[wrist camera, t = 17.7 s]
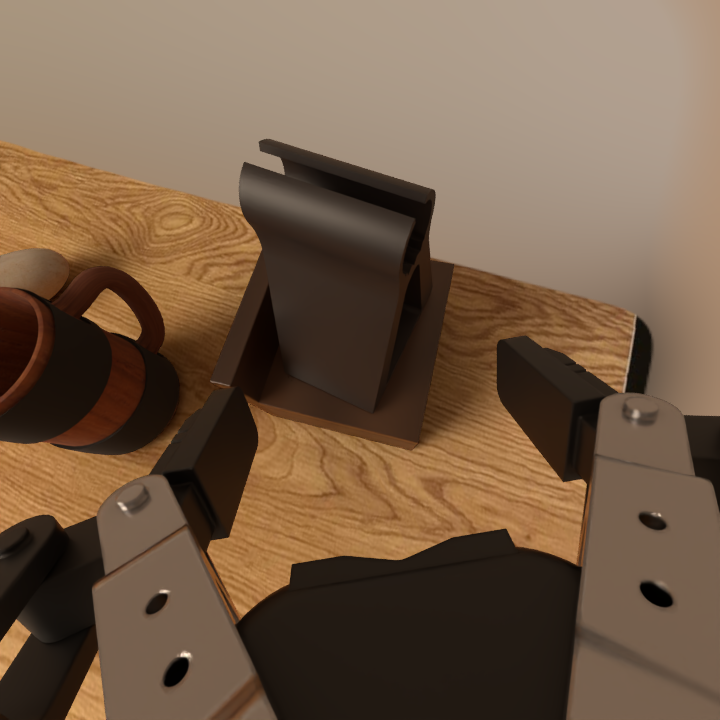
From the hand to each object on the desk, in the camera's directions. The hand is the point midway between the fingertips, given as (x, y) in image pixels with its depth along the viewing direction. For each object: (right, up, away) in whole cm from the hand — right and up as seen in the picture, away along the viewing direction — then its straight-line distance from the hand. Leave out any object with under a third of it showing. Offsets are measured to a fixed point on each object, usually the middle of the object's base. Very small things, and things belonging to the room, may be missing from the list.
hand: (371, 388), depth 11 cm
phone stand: (0, +3, +11) cm, 12 cm away
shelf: (0, +1, +17) cm, 17 cm away
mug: (-18, -1, +18) cm, 25 cm away
